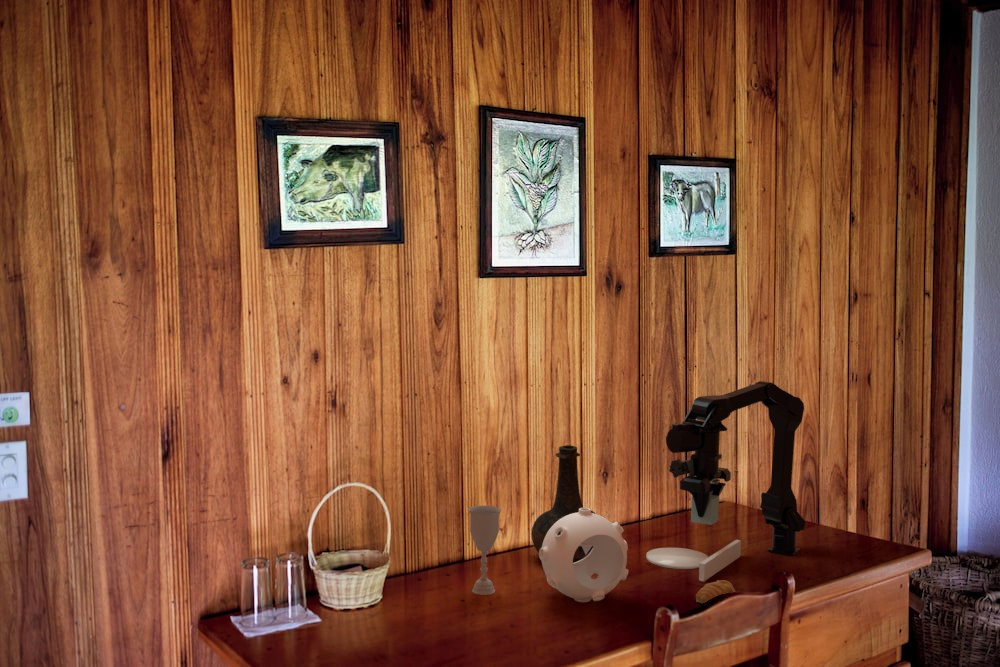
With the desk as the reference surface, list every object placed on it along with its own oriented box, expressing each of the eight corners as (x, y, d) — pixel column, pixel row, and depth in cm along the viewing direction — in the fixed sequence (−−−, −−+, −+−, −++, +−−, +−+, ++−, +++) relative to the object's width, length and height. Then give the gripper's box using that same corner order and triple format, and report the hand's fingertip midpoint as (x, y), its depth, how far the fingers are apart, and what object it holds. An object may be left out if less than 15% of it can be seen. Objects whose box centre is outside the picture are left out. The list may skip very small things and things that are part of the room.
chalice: (504, 588, 206) (505, 507, 205) (494, 598, 200) (495, 514, 199) (473, 584, 209) (474, 504, 208) (462, 593, 202) (463, 511, 201)
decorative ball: (605, 582, 211) (607, 496, 210) (643, 607, 195) (645, 514, 194) (523, 591, 204) (524, 502, 203) (556, 618, 188) (557, 522, 187)
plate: (661, 547, 240) (661, 544, 240) (718, 557, 231) (718, 554, 231) (636, 561, 227) (636, 558, 227) (694, 573, 219) (694, 569, 219)
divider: (735, 555, 233) (736, 539, 233) (740, 556, 233) (740, 540, 233) (699, 580, 214) (699, 563, 213) (704, 581, 213) (704, 564, 213)
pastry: (713, 610, 195) (713, 592, 195) (686, 602, 200) (687, 584, 200) (739, 600, 201) (739, 583, 201) (713, 592, 206) (713, 575, 206)
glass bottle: (620, 564, 225) (623, 448, 223) (561, 577, 214) (564, 456, 213) (573, 546, 239) (576, 437, 238) (516, 557, 229) (518, 443, 228)
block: (698, 517, 228) (699, 493, 228) (718, 520, 225) (719, 495, 225) (690, 521, 224) (691, 496, 224) (711, 524, 221) (711, 499, 221)
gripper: (689, 441, 236) (687, 502, 237) (659, 451, 220) (657, 517, 221) (732, 446, 230) (730, 509, 231) (705, 457, 214) (703, 524, 215)
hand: (704, 514), depth 225 cm, fingers closed on block, 5 cm apart
